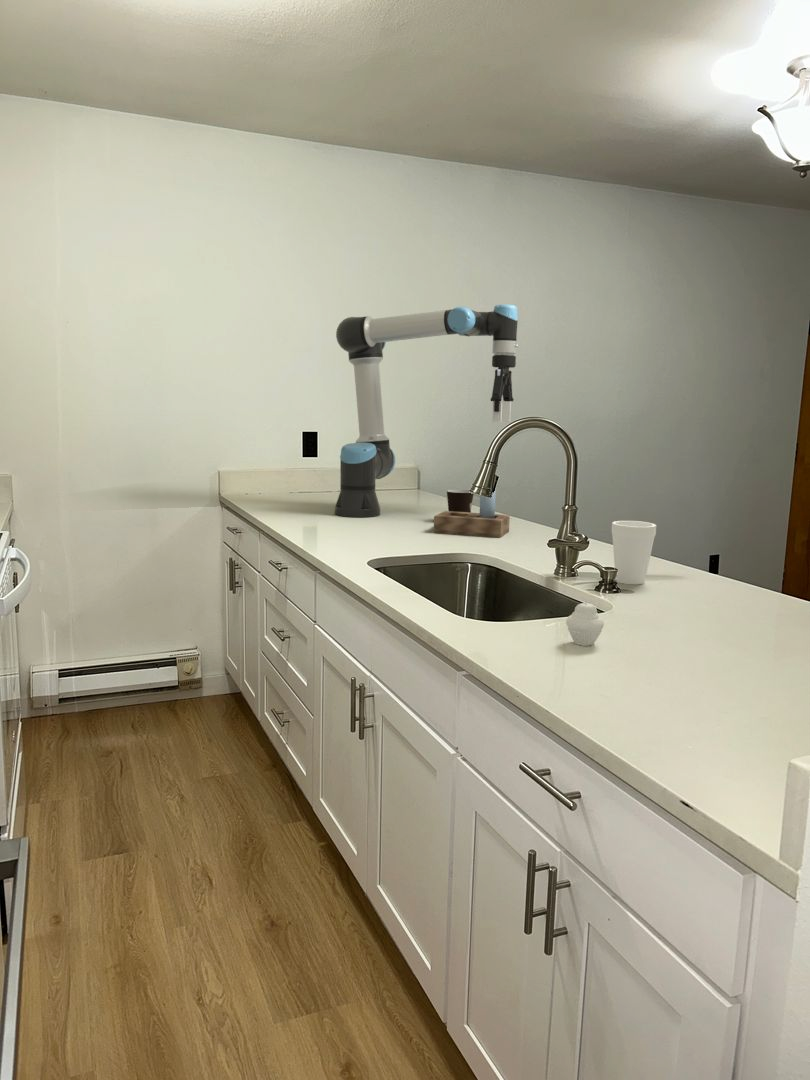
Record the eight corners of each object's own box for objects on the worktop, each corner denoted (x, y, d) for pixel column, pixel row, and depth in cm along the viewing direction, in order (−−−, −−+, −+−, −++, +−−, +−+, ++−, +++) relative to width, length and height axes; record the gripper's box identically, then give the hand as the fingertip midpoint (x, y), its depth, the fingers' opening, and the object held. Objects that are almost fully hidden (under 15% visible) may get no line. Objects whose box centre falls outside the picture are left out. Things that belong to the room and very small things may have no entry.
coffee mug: (463, 525, 265) (464, 493, 263) (440, 522, 270) (441, 490, 268) (482, 521, 274) (484, 490, 272) (460, 518, 279) (461, 488, 277)
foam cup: (600, 577, 192) (604, 521, 190) (634, 575, 196) (638, 520, 193) (625, 587, 184) (629, 528, 182) (660, 584, 187) (664, 526, 185)
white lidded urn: (597, 638, 145) (599, 598, 143) (607, 648, 138) (609, 607, 137) (561, 637, 144) (563, 597, 143) (569, 648, 138) (571, 606, 137)
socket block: (433, 532, 249) (434, 515, 248) (444, 526, 260) (445, 510, 259) (500, 537, 243) (501, 520, 242) (508, 531, 254) (509, 515, 253)
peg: (477, 530, 249) (479, 479, 246) (481, 528, 253) (482, 478, 250) (492, 531, 247) (494, 480, 245) (495, 529, 252) (497, 478, 249)
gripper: (507, 353, 258) (504, 423, 262) (523, 356, 281) (520, 421, 285) (483, 352, 260) (481, 422, 264) (501, 356, 284) (498, 420, 287)
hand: (501, 421), depth 275 cm, fingers open, 13 cm apart
